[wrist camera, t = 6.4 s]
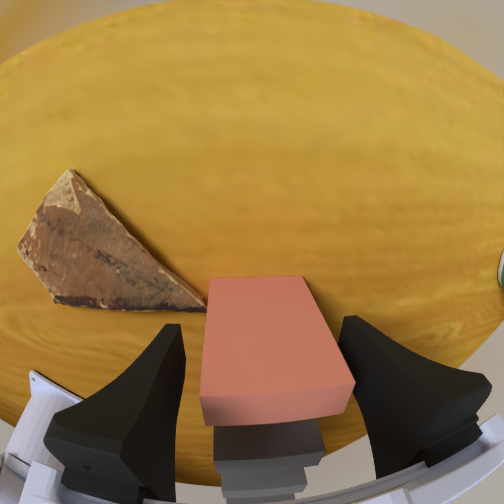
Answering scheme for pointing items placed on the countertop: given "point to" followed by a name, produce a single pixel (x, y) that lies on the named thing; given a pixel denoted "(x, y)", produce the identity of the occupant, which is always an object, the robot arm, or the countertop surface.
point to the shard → (97, 257)
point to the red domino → (269, 355)
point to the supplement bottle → (501, 270)
